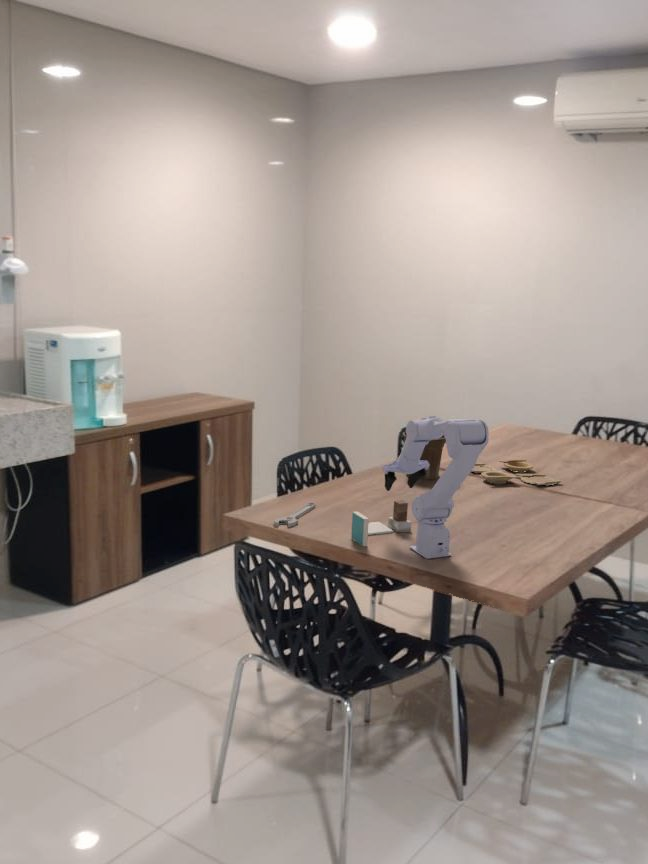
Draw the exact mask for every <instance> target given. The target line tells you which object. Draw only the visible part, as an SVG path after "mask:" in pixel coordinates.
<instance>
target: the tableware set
mask: <svg viewBox="0 0 648 864" xmlns="http://www.w3.org/2000/svg"><path fill="white" fill-rule="evenodd" d="M498 462H499V463H502V464H503V466H504V467H506V468H507V469H508V471H509V470H512V471H518V472H524V471H527V472H528V471H529V470H532V469H533V468H534V464H532V463H529V462H527V459H526V458H520V459H519V458H517V459H499V460H498ZM475 466H480V467H487V468H490V469H491V470H472V471H471V472H470V473H472V472H474V473H473V474H479V473H481V474H480V475H481V476H482V477H483V478H485V480H486V482H487V483H488V482H490V483H489V484H492V483H494V484H493V485H505V484H506V483H507V482H508V481H509V480H512V479H518V477H520V481H521V480H522V481H521V482H522V483H524V482H526V483H525V484H527V483H530V484H529V485H532V484H537V485H536V486H538V485H552V484H555V483H557V484H558V483H559V484H560V483H562V480H561V479H555V480H553V479H554V478H552V477H548V476H547V475H546V474H545V473H515V474H514V475H513V474H510V473H507V472H504V471H502V470H498V469H497V468H496V467H494V466H490V465H487V463H486V462H482V461H476V464H475ZM530 477H542V478H547V479H550V480H551V481H546V482H532V481H529V480H527V478H530ZM504 483H505V484H504Z"/></svg>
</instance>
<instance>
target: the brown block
mask: <svg viewBox="0 0 648 864" xmlns="http://www.w3.org/2000/svg"><path fill="white" fill-rule="evenodd" d="M408 506H409V503H408V502H407V501H405V500H404V499H401V500H399V499H398V500H393V514H392V515H393V516H389V517H388V521H387V522H388V523H387V525H388V526H387V527H388V528H390V529H391V530H392V529H393V531H394V530H395V531H394V532H396V533H397V532H401V533H408V532H407V531H410V532H411V531H412V521H411V520H409V519H408Z"/></svg>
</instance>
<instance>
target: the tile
mask: <svg viewBox="0 0 648 864" xmlns="http://www.w3.org/2000/svg"><path fill="white" fill-rule="evenodd" d="M351 519H352V520H351V535H350V537H351V540H353V541H354V540H355V541H354V542H356V543H357V544H359V545H360V546H361V545H362V546H361V547H367V546H368V539H369V535H368V523H370V522H369V518H368V517H367V516H365V515H364V514H362V513H361V512H359V511H352V518H351ZM366 545H367V546H366Z"/></svg>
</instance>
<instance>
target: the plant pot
mask: <svg viewBox="0 0 648 864" xmlns="http://www.w3.org/2000/svg"><path fill="white" fill-rule="evenodd" d="M402 436H403V439H404V440H403V441H404V442H403V443H405V441H406V438H407V434H406V431H404V432H402ZM445 443H446V439H445V437H444V435H443V436H442V437H441V438H439V439H432V440H431V441H429V443H428V444H427V445H425V447H424V450H423V452H422V455H421V457H420V460H423V461H425V460H427V461H428V463H429V465H430V466H429V468H428V470H425V472H426V475H425V477H423V478H421V479H420V480H419V481H421V480H423V481H426V480H430V481H432V480H436V479H439V478H438V477H439V475H440V467H441V462H442V461H441V460H442V454H443V451H444V450H443V449H444V448H445ZM405 475H406V476H407V477H408V478H409V476H410V474H405Z"/></svg>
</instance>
